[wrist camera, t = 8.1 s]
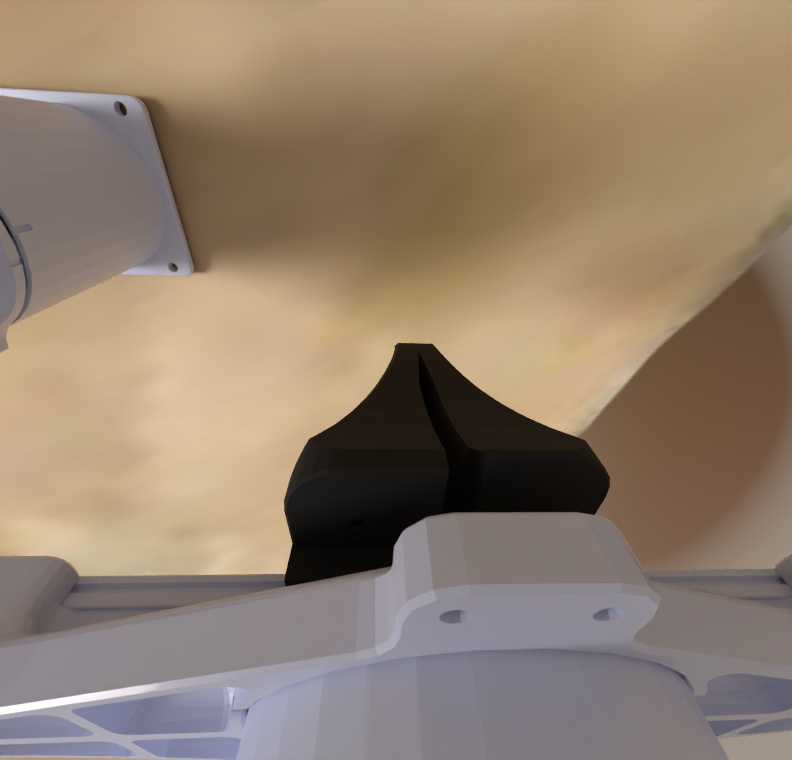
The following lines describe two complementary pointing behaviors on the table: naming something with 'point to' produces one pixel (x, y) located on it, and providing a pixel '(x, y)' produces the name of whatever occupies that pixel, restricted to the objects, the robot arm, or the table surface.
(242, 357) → the table surface
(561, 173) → the table surface
